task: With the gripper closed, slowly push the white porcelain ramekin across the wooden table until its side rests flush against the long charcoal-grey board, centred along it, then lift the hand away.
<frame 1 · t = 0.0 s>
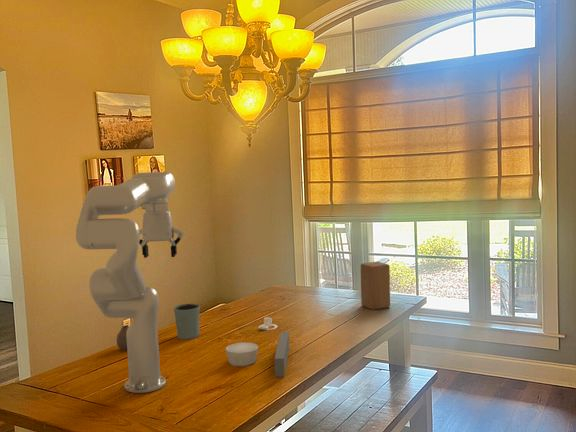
hand: (159, 256, 201), 37 cm above the table, tool pointing down, fingers open, 9 cm apart
board: (282, 361, 199), on the table
blue-grey plant pot: (188, 336, 231), on the table
ramekin: (242, 362, 200), on the table
vase: (126, 349, 217), on the table
white ring with peg: (260, 328, 239), on the table
wooden block: (375, 307, 265), on the table
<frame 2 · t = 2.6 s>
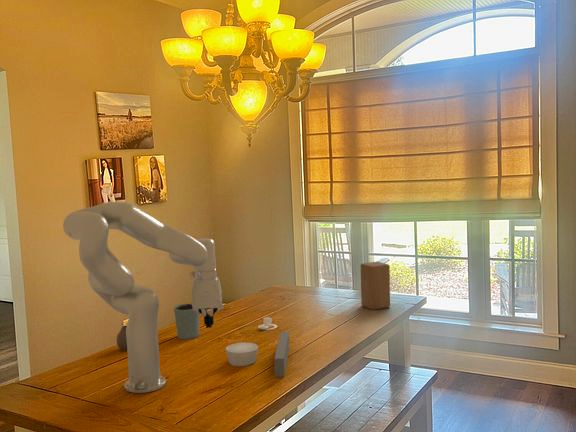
hand: (209, 326, 200), 13 cm above the table, tool pointing down, fingers closed
nothing on the table moved.
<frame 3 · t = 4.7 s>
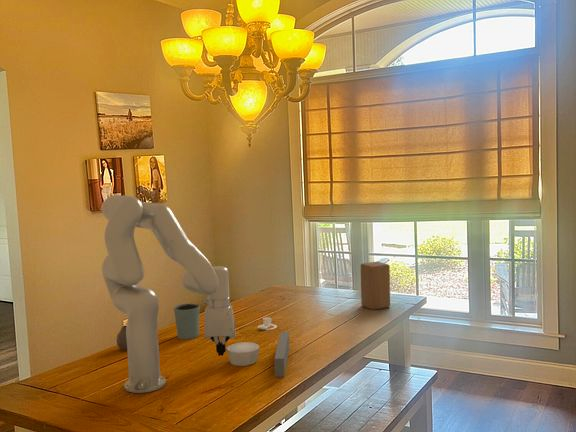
hand: (221, 354, 200), 3 cm above the table, tool pointing down, fingers closed
ramekin: (243, 362, 200), on the table, touching gripper
everything else where it was.
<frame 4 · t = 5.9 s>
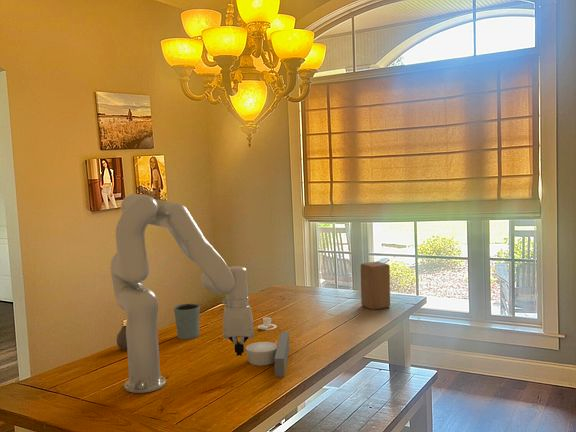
hand: (239, 354, 199), 3 cm above the table, tool pointing down, fingers closed
ramekin: (262, 361, 199), on the table, touching board, gripper
everything else where it was.
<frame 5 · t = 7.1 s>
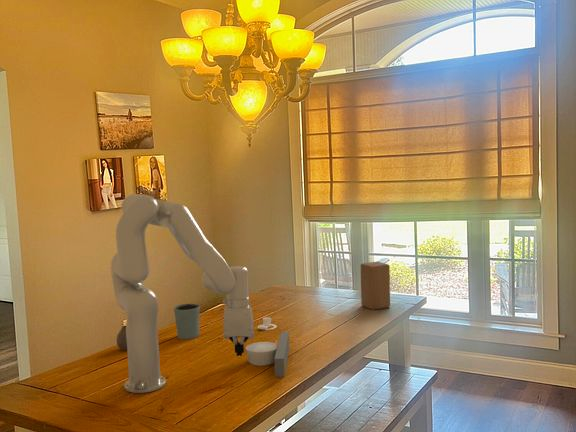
hand: (239, 354, 199), 3 cm above the table, tool pointing down, fingers closed
nothing on the table moved.
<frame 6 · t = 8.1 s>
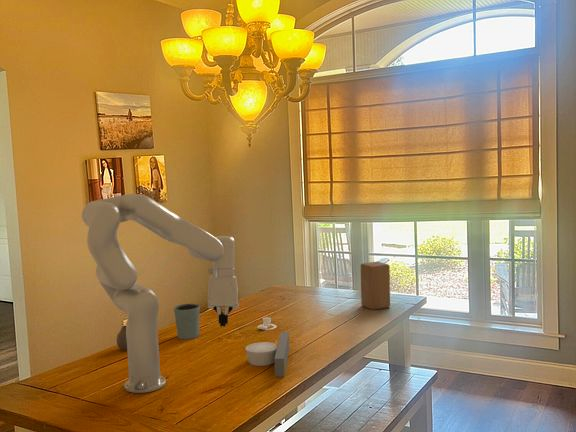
hand: (223, 325, 198), 13 cm above the table, tool pointing down, fingers closed
ramekin: (262, 362, 199), on the table
everything else where it was.
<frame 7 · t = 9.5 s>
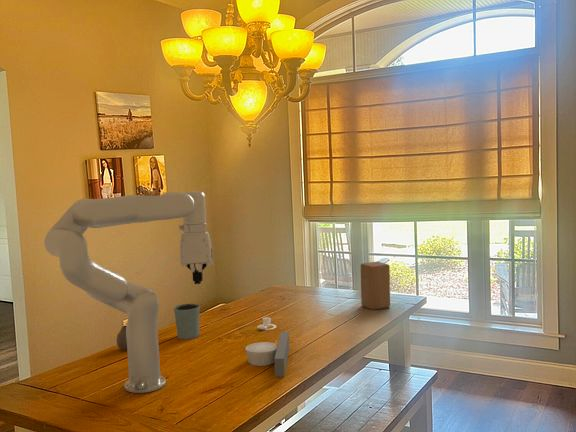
hand: (197, 283, 192), 29 cm above the table, tool pointing down, fingers closed
nothing on the table moved.
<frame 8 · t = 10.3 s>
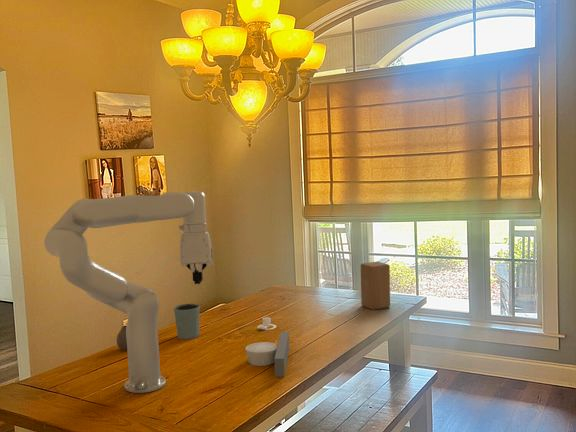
hand: (197, 283, 192), 29 cm above the table, tool pointing down, fingers closed
nothing on the table moved.
at the end: ramekin inside the target area on the table beside the board (0.4 cm from its centre), on the table; ramekin tilted 0° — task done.
